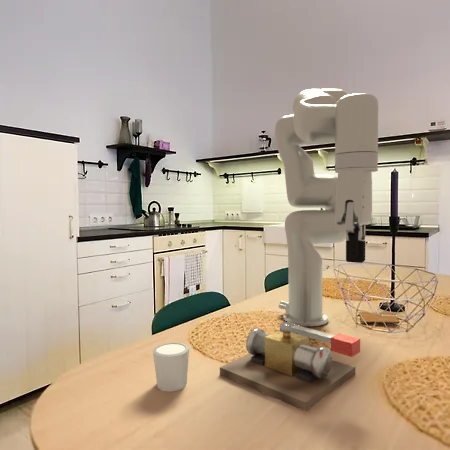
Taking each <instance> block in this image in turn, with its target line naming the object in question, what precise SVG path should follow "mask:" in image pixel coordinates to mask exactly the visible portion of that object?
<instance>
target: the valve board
mask: <svg viewBox="0 0 450 450" xmlns="http://www.w3.org/2000/svg"><path fill="white" fill-rule="evenodd" d="M252 356H254V355H251V354H249V353H248V354H246V355H244V356H242V357H239V358H236V359H235V360H232V361H230V362H228V363H225V364H223V365H221V366H219V375H220V376H222V377H225V378H227V379H229V380H232V381H234V382H237V383H239V384H241V385H243V386H246V387H248V388H251V389H253V390H255V391H258V392H260V393H262V394H264V395H267V396H269V397H271V398H273V399H276V400H278V401H280V402H283V403H285V404H288V405H290V406H293V407H294V408H297V409H299V410H302V411H304V412H307V411H309V410H310V409H311V408H312V407H314V406H316V405H317V404H318V403H319V402H321V401H322V400H323V399H324V398H326V397H327V396H329V395H330V394H332V393H333V392H334V391H335V390H337V389H338V388H340V386H342V385H343V384H345V383H346V382H347V381H348V380H350V379H351V378H353V377H354V376H355V375H356V366H352V365H349V364H346V363H343V362H340V361H337V360H333V359H332V364H331V368H330V371H329V373H328V375H327V376H326V377H325V378H324V379H320V378H318V379H316V380H315V381H313V382H311V383H308V382H305V381H302V380H300V379H297V378H296V374H295V375H293V376H290V375H287V374H284V373H282V372H279V371H276V370H273V369H271V368H268V367H265V365H263V366H261V365H259V364H256V363H253V362H251V357H252Z"/></svg>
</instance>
